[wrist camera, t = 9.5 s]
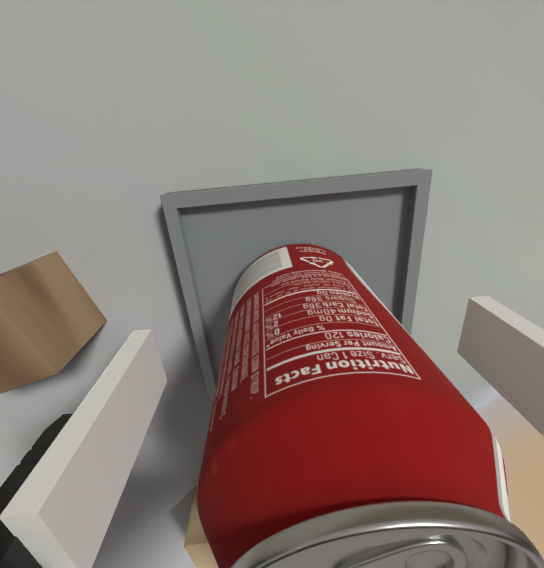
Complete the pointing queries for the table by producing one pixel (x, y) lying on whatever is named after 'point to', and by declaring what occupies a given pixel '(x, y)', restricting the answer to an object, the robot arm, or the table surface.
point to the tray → (295, 241)
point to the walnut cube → (42, 320)
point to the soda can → (344, 436)
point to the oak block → (198, 539)
